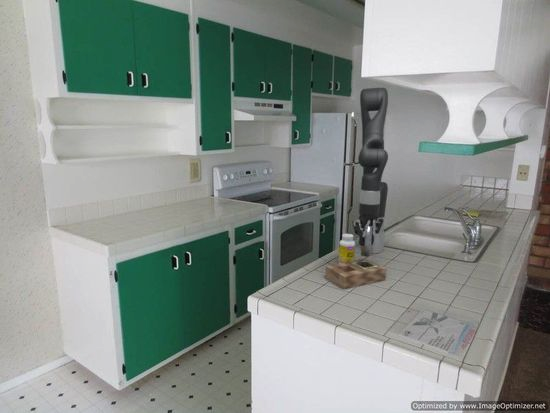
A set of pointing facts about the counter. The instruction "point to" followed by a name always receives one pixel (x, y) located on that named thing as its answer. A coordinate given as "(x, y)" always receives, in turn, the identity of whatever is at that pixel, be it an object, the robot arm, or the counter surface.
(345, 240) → the supplement bottle
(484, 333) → the counter surface
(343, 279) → the bore block
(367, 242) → the pin
